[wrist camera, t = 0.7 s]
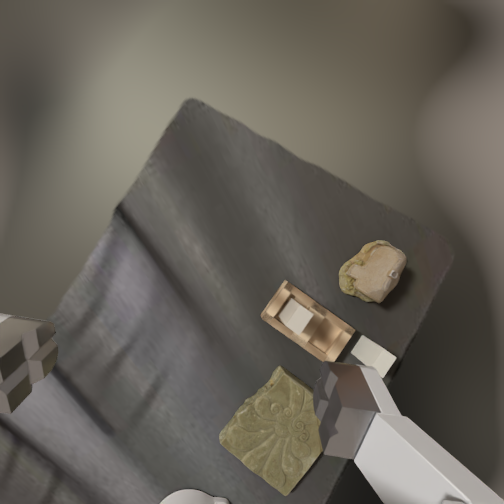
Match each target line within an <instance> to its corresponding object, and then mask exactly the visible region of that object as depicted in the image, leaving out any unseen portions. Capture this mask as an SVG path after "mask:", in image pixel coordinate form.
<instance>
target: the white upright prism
mask: <svg viewBox="0 0 504 504" xmlns="http://www.w3.org/2000/svg"><path fill="white" fill-rule="evenodd" d="M313 315H314V314H313V313H311V312H310V311H309V310H307V309H306V308H305V307H303V306H302V305H301V304H299V303H298V302H296V301H295V300H294V299H292V298H291V297H290V299H289V300H288V302H287V303H286V305H285V306H284V307H283V309H282V310H281V312H280V313H279V315H278V316H279V317H280V319H281V320H282V322H283V323H284V324H285V326H287V327H288V328H289V329H291V330H292V331H294V332H295V333H296V334H298V335H300V334H301V332H302V331H303V329H304V328H305V326H306V325H307V324H308V322H309V321H310V319H311V318H312V316H313Z"/></svg>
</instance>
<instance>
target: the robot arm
mask: <svg viewBox="0 0 504 504" xmlns="http://www.w3.org/2000/svg"><path fill="white" fill-rule="evenodd" d="M55 333H56V332H55V327H54V324H53V323H51V322H49V321H44V320H38V319H32V318H26V317H20V316H12V315H6V314H0V413H9V414H11V413H12V412H13V411H14V410H15V409H16V408H17V407H18V406H19V405H20V404H21V403H22V402H23V400H24V399H25V398H26V397H27V396H28V395H29V394H30V393H31V392H32V384H34V383H36V382H38V381H40V380H42V379H44V378H45V377H46V376H47V375H48V373H49V372H50V371H51V370H52V368H53V366H54V364H55V362H56V360H57V356H58V346H57V344H56V343H55V342H54V341H53V340H52V337H53V336H54V334H55ZM320 373H321V378H320V379H318V380H317V381H316V383H315V387H314V392H313V407H314V412H315V415H316V417H317V418H318V419H319V420H320V421H321V424H320V426H319V429H318V431H319V436H320V440H321V445H322V449H323V454H324V455H331V456H337V457H343V458H349V459H355V460H354V462H355V463H356V465H357V466H358V467H359V469H360V470H361V472H362V473H363V474H364V476H365V477H366V479H367V480H368V481H369V483H370V484H371V486H372V487H373V488H374V490H375V491H376V493H377V494H378V495H379V497H380V498H381V500H382V501H383V502H384V504H504V500H503V499H501V498H500V497H499V496H498V495H497V494H496V493H494V492H493V491H492V490H491V489H490V488H489V487H488V486H487V485H485V484H484V483H483V482H482V481H481V480H480V479H478V478H477V477H476V476H475V475H474V474H473V473H471V472H470V471H469V470H468V469H467V468H466V467H464V466H463V465H462V464H461V463H460V462H459V461H458V460H456V459H455V458H454V457H453V456H452V455H451V454H449V453H448V452H447V451H446V450H445V449H444V448H442V447H441V446H440V445H439V444H438V443H437V442H435V441H434V440H433V439H432V438H431V437H430V436H429V435H427V434H426V433H425V432H424V431H423V430H422V429H420V428H419V427H418V426H417V425H416V424H414V423H413V422H412V421H411V420H410V419H409V418H408V417H405V416H401V414H400V412H399V410H398V408H397V407H396V405H395V403H394V401H393V399H392V397H391V395H390V394H389V392H388V390H387V388H386V386H385V384H384V382H383V381H382V379H381V377H380V375H379V373H378V371H377V370H376V369H375V368H374V367H372V366H364V365H354V364H346V363H339V362H331V361H324V362H323V363H322V365H321V368H320ZM160 504H229V501H228V500H227V499H226V498H221V497H212V496H210V495H208V494H206V493H204V492H202V491H199V490H194V489H185V490H180V491H177V492H174V493H172V494H170V495H169V496H167V497H166V498H165V499H164V500H163V501H162V502H161V503H160Z"/></svg>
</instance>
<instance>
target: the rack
mask: <svg viewBox="0 0 504 504" xmlns="http://www.w3.org/2000/svg"><path fill="white" fill-rule="evenodd" d="M290 297H291V298H292V299H294V300H295V301H296V302H298V303H299V304H301V305H302V306H303V307H305V308H306V309H307V310H309V311H310V312H311V313H313V314H314V315H313V316H312V318H311V319H310V321H309V322H308V324H307V325H306V326H305V328H304V329H303V331H302V332H301V334H300V335H298V334H296V333H295V332H294V331H292V330H291V329H289V328H288V327H287V326H285V324H284V323H283V322H282V320H281V319H280V317H279V316H278V315H279V313H280V312H281V310H282V309H283V307H284V306H285V305H286V303H287V302H288V300H289V299H290ZM261 318H262V319H263V320H264V321H266V322H267V323H269V324H270V325H272V326H273V327H274V328H276V329H277V330H279V331H280V332H281V333H283V334H284V335H286V336H287V337H289V338H290V339H291V340H293V341H294V342H296V343H297V344H298V345H300V346H301V347H303V348H304V349H306V350H307V351H308V352H310V353H311V354H313V355H314V356H315V357H317V358H318V359H320V360H321V361H323V362H324V361H331V362H334V361H335V360H336V358H337V357H338V355H339V354H340V353H341V351H342V350H343V348H344V347H345V345H346V344H347V342H348V341H349V339H350V338H351V336H352V335H353V333H354V332H355V329H353V328H352V327H351V326H349V325H348V324H346V323H345V322H344V321H342V320H341V319H339V318H338V317H337V316H335V315H334V314H332V313H331V312H330V311H328V310H327V309H325V308H324V307H323V306H321V305H320V304H318V303H317V302H316V301H314V300H313V299H311V298H310V297H309V296H307V295H306V294H304V293H303V292H302V291H300V290H299V289H297V288H296V287H295V286H293V285H292V284H290V283H289V282H287V281H284V282H283V284H282V285H281V286H280V288H279V289H278V291H277V292H276V293H275V295H274V296H273V298H272V299H271V301H270V302H269V303H268V305H267V306H266V308H265V309H264V311H263V312H262V313H261Z"/></svg>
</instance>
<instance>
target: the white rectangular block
mask: <svg viewBox="0 0 504 504" xmlns="http://www.w3.org/2000/svg"><path fill="white" fill-rule="evenodd" d="M351 353H352V354H353V355H354V356H356V357H357V358H358V359H359V360H360V361H361V362H363V363H364V364H365V365H366V366H372V367H374V368H375V369H376V370H377V371H378V373H379V375H380V376H381V377H382V378H384V376H385V375H386V373H387V372H388V370H389V369H390V367H391V366H392V364H393V363H394V361H395V360H396V357H395V356H394V355H392V354H391V353H389V352H388V351H387V350H385V349H384V348H382V347H381V346H379V345H377V344H376V343H374V342H373V341H371V340H369V339H368V338H366V337H365V336H363V335H362V336H361V338H360V339H359V341H358V342H357V344H356V345H355V347H354V348H353V350H352V351H351Z"/></svg>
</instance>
